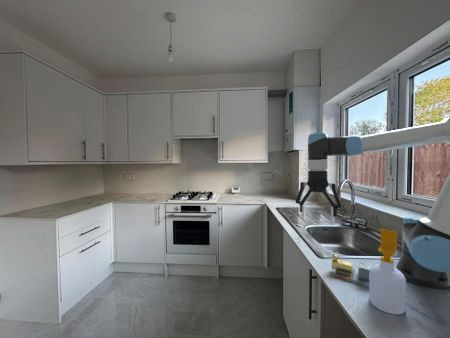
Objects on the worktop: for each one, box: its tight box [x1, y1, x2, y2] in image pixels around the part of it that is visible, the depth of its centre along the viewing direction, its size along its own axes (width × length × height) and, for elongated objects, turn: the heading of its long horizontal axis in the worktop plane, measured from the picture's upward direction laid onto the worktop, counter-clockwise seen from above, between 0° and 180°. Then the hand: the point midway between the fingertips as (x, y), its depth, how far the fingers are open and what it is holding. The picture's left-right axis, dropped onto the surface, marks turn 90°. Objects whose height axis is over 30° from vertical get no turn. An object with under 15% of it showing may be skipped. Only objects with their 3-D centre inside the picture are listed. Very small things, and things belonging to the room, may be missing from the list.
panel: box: [334, 268, 369, 288], centre depth 82 cm, size 13×9×1 cm
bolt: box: [331, 253, 353, 274], centre depth 85 cm, size 7×3×5 cm, turn 54°
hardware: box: [334, 260, 377, 282], centre depth 82 cm, size 13×7×5 cm, turn 54°
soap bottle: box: [368, 227, 407, 316], centre depth 66 cm, size 9×9×25 cm
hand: (317, 221), depth 89 cm, fingers open, 11 cm apart
